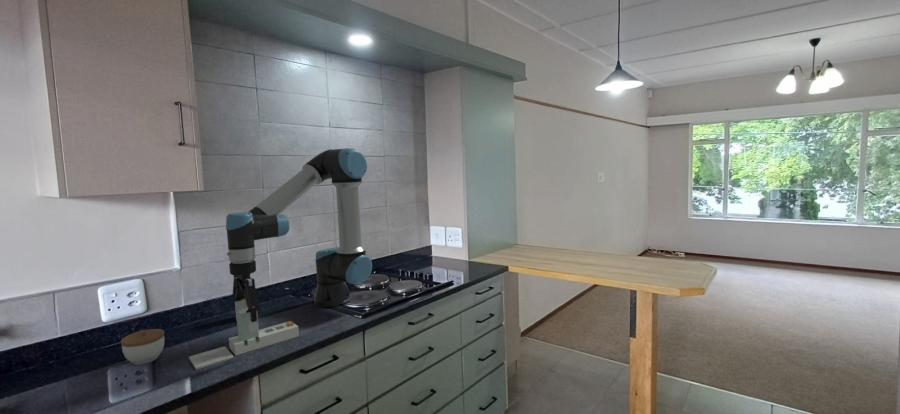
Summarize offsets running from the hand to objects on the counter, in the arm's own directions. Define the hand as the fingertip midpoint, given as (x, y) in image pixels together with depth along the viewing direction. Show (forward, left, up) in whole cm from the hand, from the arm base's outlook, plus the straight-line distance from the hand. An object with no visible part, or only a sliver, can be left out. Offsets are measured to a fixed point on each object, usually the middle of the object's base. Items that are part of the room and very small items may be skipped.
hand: (247, 325), depth 132 cm
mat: (+11, 0, -7) cm, 13 cm away
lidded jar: (+26, -14, -8) cm, 30 cm away
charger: (0, 0, -5) cm, 5 cm away
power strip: (-5, 0, -7) cm, 9 cm away
